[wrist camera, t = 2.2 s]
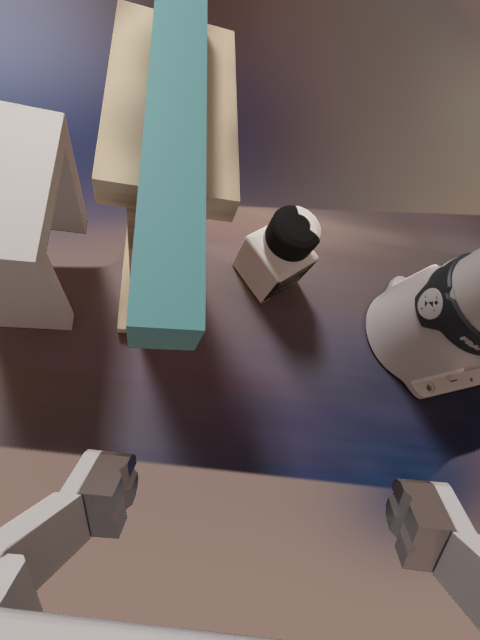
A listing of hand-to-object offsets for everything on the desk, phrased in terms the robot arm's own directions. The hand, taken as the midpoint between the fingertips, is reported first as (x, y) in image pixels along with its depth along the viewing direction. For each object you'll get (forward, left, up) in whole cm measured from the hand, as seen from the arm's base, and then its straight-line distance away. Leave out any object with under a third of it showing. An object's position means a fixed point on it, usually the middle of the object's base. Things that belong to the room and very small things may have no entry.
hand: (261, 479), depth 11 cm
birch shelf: (+3, -22, -30) cm, 38 cm away
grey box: (+16, -22, -30) cm, 41 cm away
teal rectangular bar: (+3, -17, -4) cm, 18 cm away
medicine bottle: (-12, -24, -31) cm, 41 cm away
